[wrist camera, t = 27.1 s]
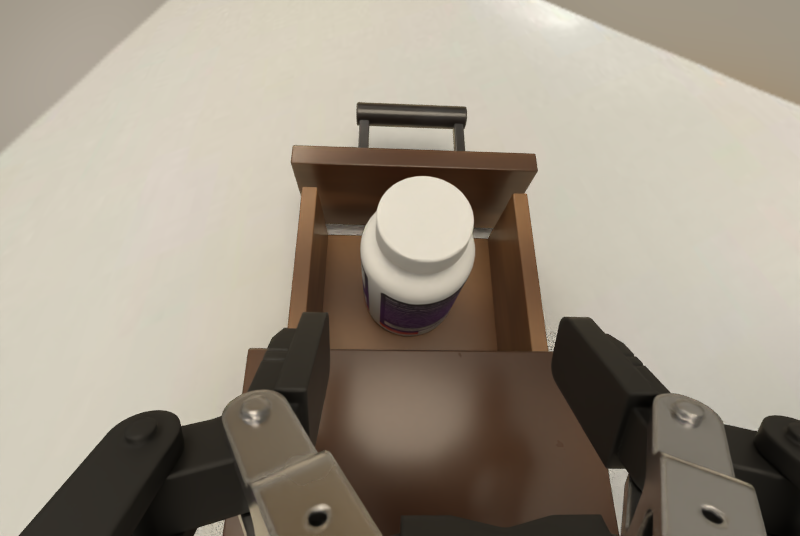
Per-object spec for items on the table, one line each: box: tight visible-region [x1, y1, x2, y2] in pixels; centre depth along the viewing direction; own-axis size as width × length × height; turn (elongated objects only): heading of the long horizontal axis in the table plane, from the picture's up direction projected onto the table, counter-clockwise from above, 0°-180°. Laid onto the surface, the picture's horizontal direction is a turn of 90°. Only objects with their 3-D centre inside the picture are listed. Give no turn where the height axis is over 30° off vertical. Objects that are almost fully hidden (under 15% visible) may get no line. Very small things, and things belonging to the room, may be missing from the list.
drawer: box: [288, 102, 548, 351], centre depth 25 cm, size 18×13×7 cm
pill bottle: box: [360, 176, 475, 336], centre depth 21 cm, size 5×5×10 cm
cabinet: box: [223, 348, 619, 536], centre depth 19 cm, size 14×15×9 cm
